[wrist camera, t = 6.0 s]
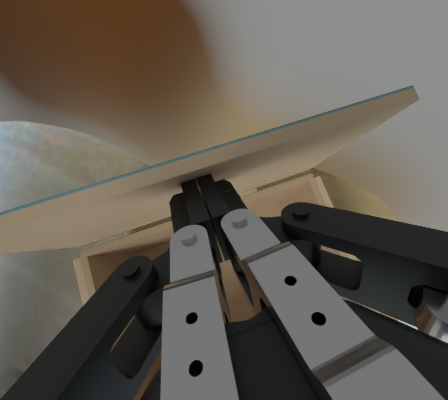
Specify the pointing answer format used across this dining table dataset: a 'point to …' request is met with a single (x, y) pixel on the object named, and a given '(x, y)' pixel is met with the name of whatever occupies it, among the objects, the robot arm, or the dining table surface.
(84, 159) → the dining table surface
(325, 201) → the tan open box
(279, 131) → the wooden box lid
